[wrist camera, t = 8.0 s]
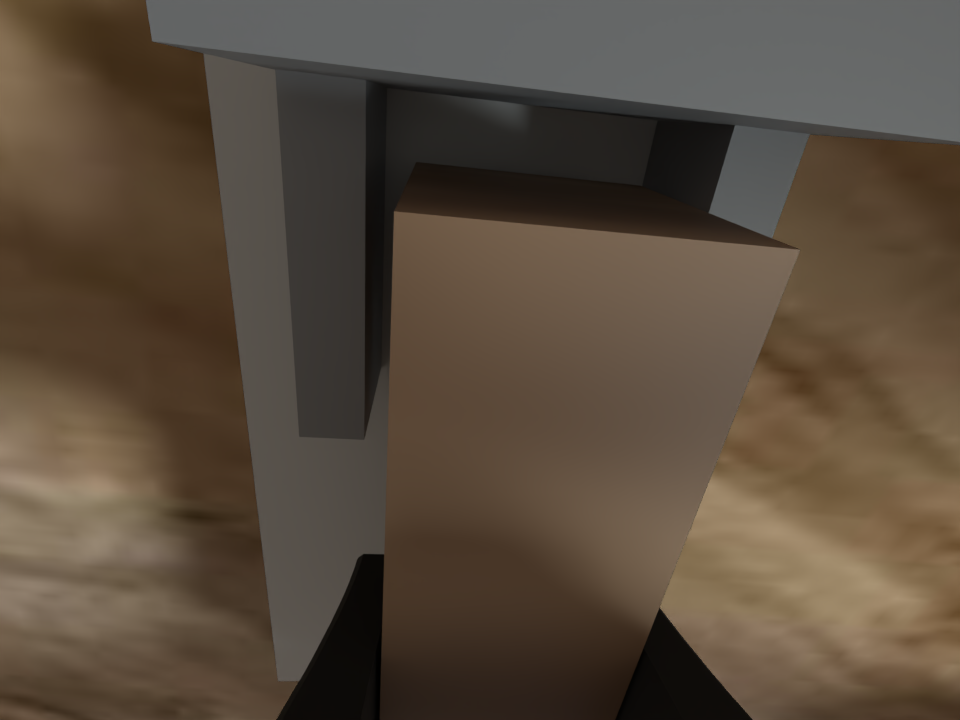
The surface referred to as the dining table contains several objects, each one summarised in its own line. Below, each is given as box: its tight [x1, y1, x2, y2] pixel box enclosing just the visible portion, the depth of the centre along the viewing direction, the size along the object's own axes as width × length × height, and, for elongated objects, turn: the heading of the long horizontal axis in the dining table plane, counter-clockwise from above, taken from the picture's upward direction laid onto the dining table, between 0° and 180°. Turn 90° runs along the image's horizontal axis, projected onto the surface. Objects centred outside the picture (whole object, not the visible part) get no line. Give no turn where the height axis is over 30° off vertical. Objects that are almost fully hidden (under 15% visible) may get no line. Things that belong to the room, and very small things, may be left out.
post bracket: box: [146, 0, 960, 681], centre depth 11 cm, size 21×12×6 cm, turn 174°
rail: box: [380, 162, 800, 720], centre depth 10 cm, size 16×4×4 cm, turn 174°
